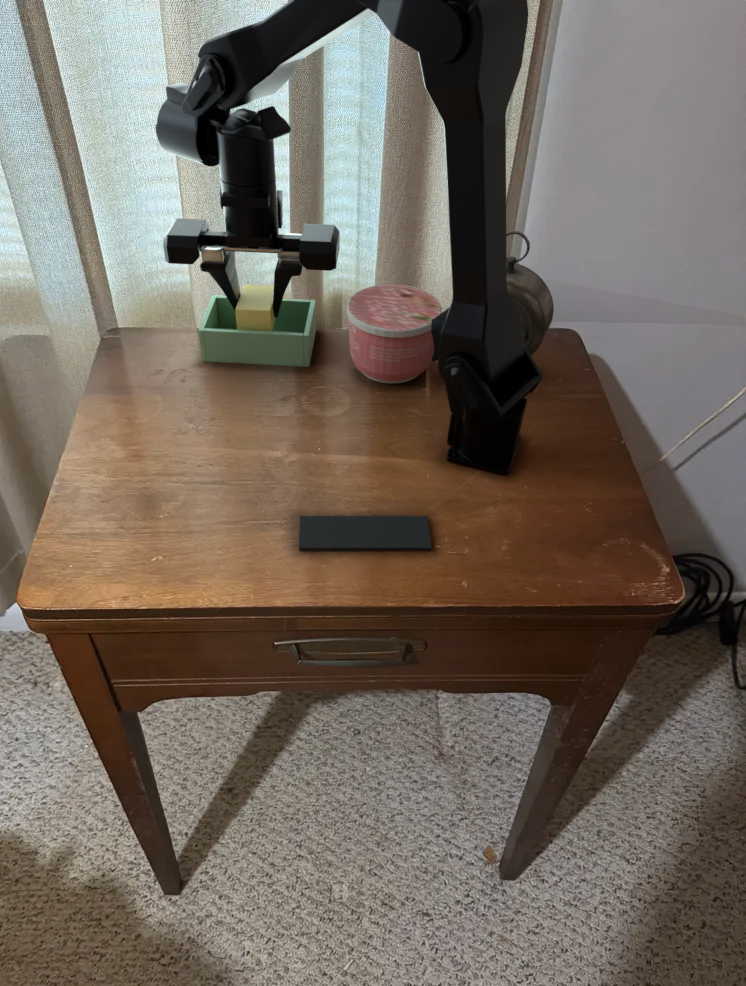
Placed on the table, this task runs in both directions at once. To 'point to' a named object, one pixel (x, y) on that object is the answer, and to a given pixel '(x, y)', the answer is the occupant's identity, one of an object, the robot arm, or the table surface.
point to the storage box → (259, 335)
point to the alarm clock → (529, 299)
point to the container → (391, 331)
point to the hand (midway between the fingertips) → (258, 314)
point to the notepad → (255, 308)
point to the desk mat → (364, 533)
